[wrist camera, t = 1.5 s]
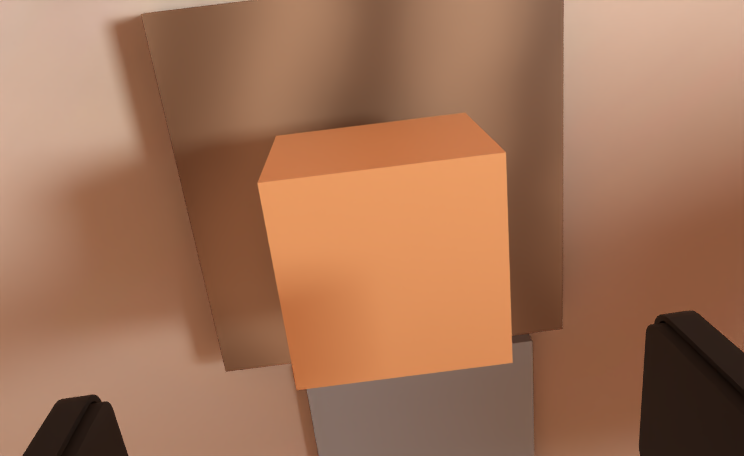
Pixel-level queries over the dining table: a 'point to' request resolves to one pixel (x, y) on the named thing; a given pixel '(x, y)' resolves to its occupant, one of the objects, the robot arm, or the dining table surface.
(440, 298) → the orange bevelled cube
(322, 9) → the post stand
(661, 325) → the robot arm
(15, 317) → the dining table surface
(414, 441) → the rubber pad
